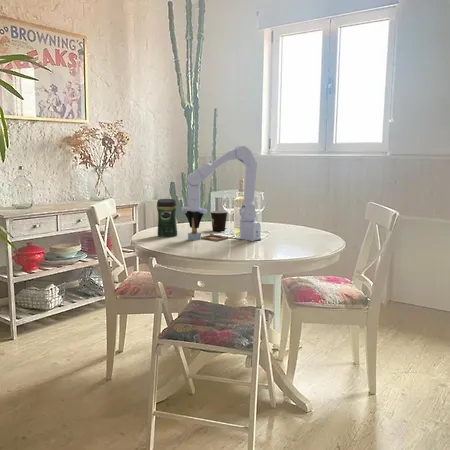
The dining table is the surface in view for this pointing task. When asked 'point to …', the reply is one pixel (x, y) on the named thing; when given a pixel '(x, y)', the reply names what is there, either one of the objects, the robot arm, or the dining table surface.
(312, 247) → the dining table surface
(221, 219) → the coffee mug
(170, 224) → the coffee jar
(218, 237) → the tray
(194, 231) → the dowel
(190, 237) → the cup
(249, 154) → the robot arm
